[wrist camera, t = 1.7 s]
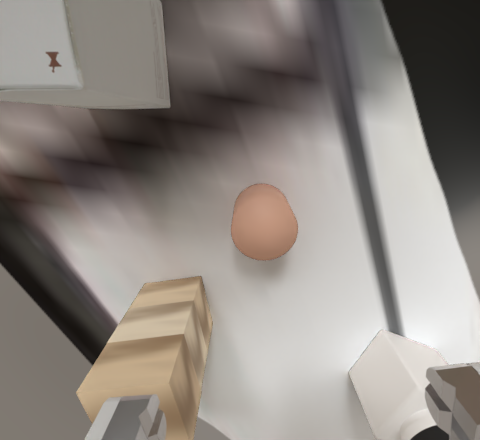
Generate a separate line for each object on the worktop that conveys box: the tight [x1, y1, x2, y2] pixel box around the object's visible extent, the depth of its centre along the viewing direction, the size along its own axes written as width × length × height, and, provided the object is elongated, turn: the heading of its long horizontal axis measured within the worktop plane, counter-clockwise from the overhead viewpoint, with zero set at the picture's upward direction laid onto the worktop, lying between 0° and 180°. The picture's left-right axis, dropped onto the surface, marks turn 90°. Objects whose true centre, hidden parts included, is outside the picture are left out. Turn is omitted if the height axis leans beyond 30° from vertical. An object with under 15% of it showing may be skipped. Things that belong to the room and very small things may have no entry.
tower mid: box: [107, 300, 208, 388], centre depth 23 cm, size 6×6×4 cm
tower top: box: [76, 334, 201, 440], centre depth 19 cm, size 6×6×4 cm
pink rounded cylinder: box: [231, 184, 298, 260], centre depth 23 cm, size 5×5×5 cm
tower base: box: [130, 276, 213, 352], centre depth 27 cm, size 6×6×4 cm
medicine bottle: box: [349, 329, 450, 440], centre depth 25 cm, size 7×7×12 cm
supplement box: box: [0, 0, 170, 109], centre depth 15 cm, size 7×7×13 cm
